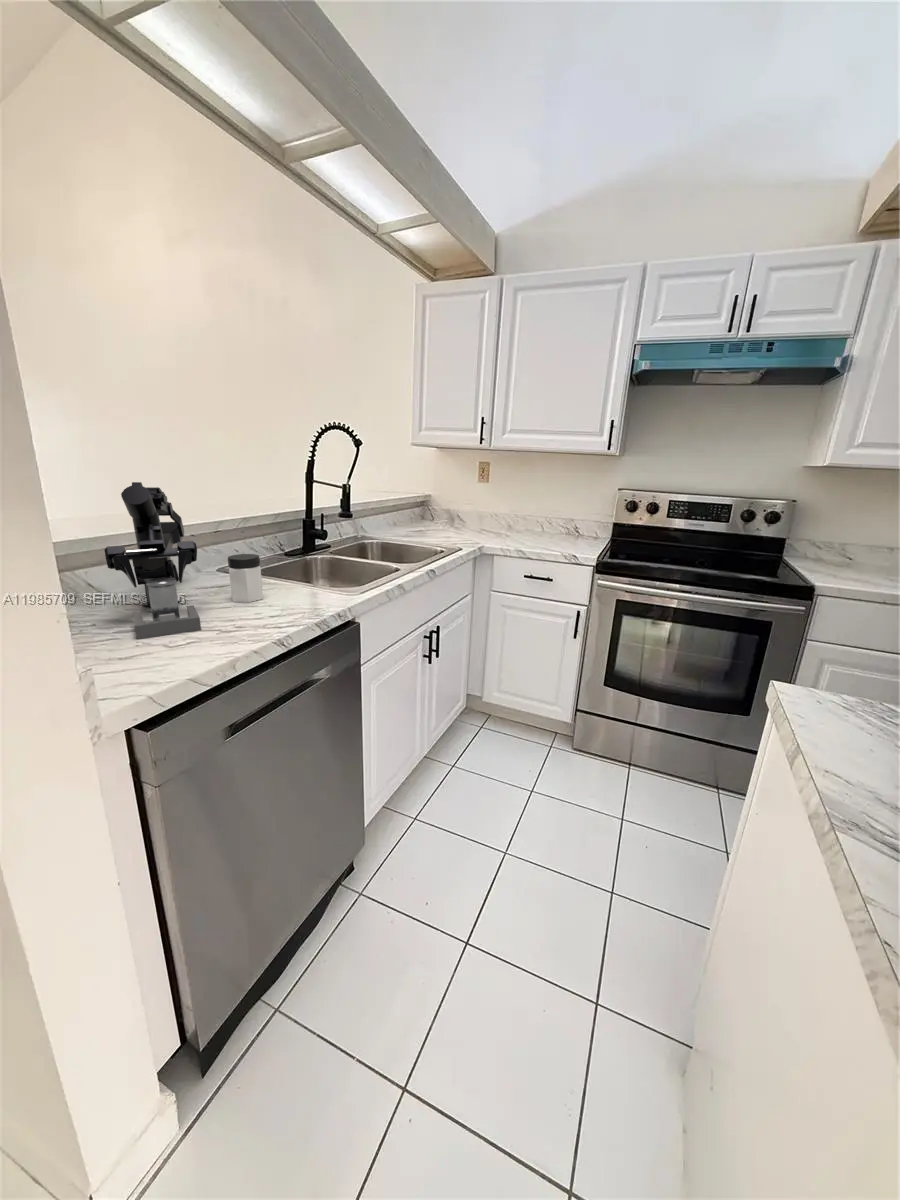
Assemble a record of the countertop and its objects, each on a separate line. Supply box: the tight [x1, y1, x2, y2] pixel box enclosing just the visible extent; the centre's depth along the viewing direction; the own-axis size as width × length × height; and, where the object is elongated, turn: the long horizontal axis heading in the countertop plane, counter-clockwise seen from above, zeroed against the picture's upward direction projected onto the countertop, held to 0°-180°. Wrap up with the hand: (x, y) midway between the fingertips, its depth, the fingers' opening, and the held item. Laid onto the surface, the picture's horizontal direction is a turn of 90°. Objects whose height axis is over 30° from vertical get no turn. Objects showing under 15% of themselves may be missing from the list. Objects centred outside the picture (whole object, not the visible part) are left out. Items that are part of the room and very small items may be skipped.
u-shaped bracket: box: [133, 604, 202, 640], centre depth 114 cm, size 11×13×4 cm
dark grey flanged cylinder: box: [146, 578, 181, 622], centre depth 114 cm, size 6×6×11 cm
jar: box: [227, 553, 264, 603], centre depth 137 cm, size 9×8×12 cm
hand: (158, 584), depth 116 cm, fingers open, 9 cm apart
